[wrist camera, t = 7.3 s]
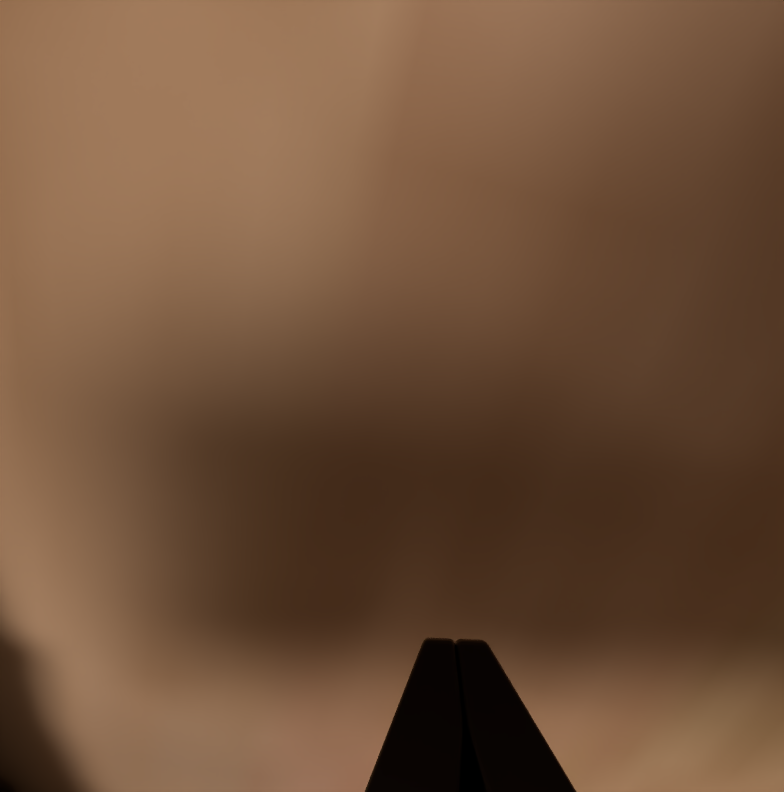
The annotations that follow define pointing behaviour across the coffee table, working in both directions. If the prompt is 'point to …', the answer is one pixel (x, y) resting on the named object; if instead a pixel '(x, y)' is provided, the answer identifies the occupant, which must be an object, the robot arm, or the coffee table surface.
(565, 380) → the coffee table surface
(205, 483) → the coffee table surface
